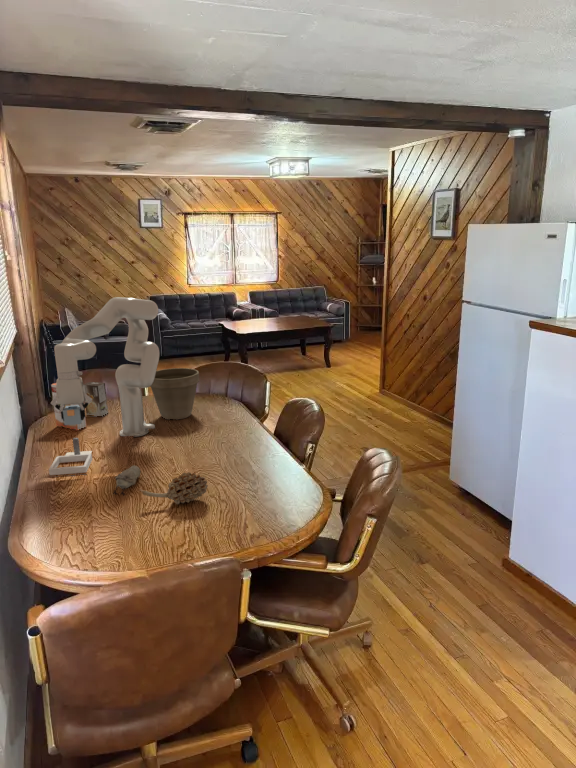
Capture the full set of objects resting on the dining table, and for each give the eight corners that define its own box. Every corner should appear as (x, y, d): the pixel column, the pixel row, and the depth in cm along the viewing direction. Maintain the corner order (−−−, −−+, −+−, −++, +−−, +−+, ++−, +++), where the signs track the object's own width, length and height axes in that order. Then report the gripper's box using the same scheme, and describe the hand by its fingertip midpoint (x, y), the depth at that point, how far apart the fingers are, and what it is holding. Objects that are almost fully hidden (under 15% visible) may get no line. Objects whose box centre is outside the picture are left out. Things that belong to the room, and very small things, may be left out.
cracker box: (55, 427, 264) (50, 384, 259) (66, 423, 269) (60, 381, 264) (77, 431, 258) (71, 387, 253) (87, 427, 263) (82, 384, 258)
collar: (83, 419, 225) (81, 404, 224) (80, 425, 218) (78, 410, 217) (67, 420, 224) (66, 405, 223) (64, 426, 217) (62, 411, 216)
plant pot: (145, 412, 285) (142, 370, 279) (193, 405, 295) (190, 365, 289) (156, 426, 263) (153, 381, 257) (207, 418, 273) (205, 375, 267)
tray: (92, 462, 221) (91, 453, 221) (86, 475, 209) (85, 466, 208) (57, 464, 219) (56, 456, 219) (49, 478, 207) (48, 469, 206)
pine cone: (206, 492, 193) (204, 465, 191) (210, 504, 184) (209, 476, 182) (139, 502, 187) (137, 474, 184) (141, 515, 178) (139, 486, 175)
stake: (92, 453, 230) (90, 434, 228) (88, 461, 222) (86, 441, 220) (67, 455, 229) (64, 435, 227) (62, 463, 220) (59, 443, 218)
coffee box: (109, 413, 284) (106, 382, 280) (101, 417, 278) (98, 385, 274) (93, 412, 287) (90, 381, 283) (85, 415, 281) (82, 384, 277)
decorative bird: (145, 478, 206) (143, 459, 204) (125, 498, 190) (124, 477, 189) (131, 477, 207) (129, 459, 205) (110, 497, 191) (108, 477, 189)
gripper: (93, 371, 222) (98, 415, 227) (47, 374, 219) (53, 418, 224) (89, 376, 215) (95, 421, 219) (42, 379, 212) (48, 424, 217)
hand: (73, 419), depth 222 cm, fingers closed on collar, 6 cm apart
